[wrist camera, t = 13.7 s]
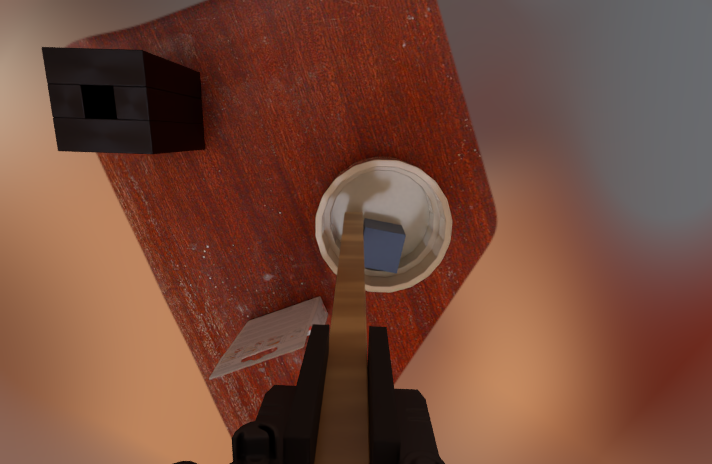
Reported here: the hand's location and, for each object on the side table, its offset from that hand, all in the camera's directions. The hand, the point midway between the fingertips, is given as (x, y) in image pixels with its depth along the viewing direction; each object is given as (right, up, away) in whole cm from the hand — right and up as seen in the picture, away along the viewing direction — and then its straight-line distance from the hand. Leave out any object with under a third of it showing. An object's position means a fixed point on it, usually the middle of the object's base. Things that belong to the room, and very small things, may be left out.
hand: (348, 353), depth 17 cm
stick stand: (-19, +18, +21) cm, 33 cm away
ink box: (-7, -4, +26) cm, 28 cm away
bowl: (+3, +7, +23) cm, 24 cm away
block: (+3, +5, +23) cm, 24 cm away
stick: (0, +7, +21) cm, 22 cm away
